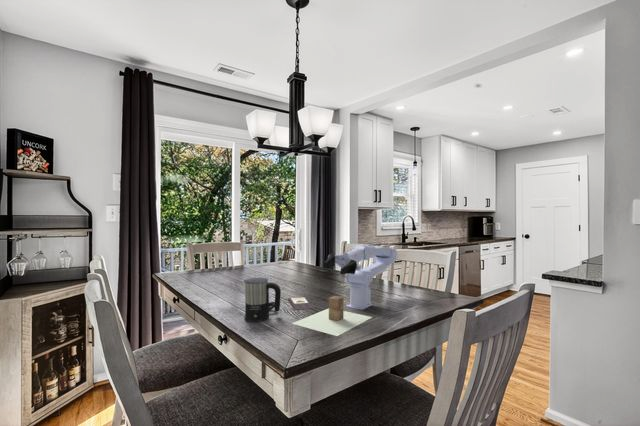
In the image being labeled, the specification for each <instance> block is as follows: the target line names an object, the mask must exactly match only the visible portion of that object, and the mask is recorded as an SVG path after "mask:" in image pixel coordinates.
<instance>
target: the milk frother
mask: <svg viewBox="0 0 640 426" xmlns="http://www.w3.org/2000/svg"><path fill="white" fill-rule="evenodd" d="M243 282H244V297H245V301H244V302H245V303H244V305H245V307H244V308H245V312H244V313H245V315H244V320H245V321H247V322H263V321H265V320H268V319H269V318H270V316H269V314H270V312H271V310H273V309H274V311H275V312H277V313H278V312H280V309H281V295H282V294H281V292H282V291H281V290H282V289H281V287H280V286H279V284H278V283H276V282H269V278H267V277H251V278H250V277H249V278H247V279H244V280H243ZM269 289H271V290H273V291H274V292H275V293H274V301H270V293H269V292H270V290H269Z"/></svg>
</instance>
